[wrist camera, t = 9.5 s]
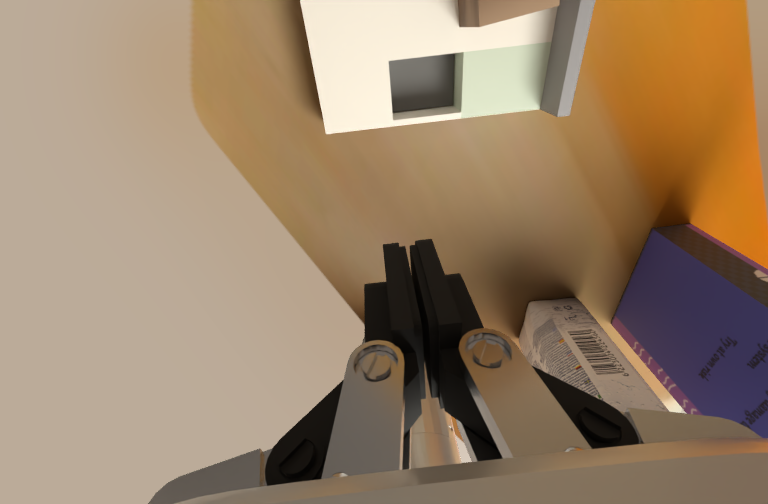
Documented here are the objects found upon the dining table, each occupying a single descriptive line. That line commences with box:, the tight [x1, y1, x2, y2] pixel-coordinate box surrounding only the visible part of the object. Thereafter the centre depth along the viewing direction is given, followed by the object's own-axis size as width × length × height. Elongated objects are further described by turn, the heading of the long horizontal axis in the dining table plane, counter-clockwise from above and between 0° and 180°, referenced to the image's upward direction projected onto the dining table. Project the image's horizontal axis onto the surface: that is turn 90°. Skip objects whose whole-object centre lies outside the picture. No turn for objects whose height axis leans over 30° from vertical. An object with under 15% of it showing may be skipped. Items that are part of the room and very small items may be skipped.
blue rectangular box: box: [611, 223, 768, 438], centre depth 35 cm, size 17×5×24 cm, turn 6°
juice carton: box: [519, 298, 669, 412], centre depth 38 cm, size 9×10×27 cm
